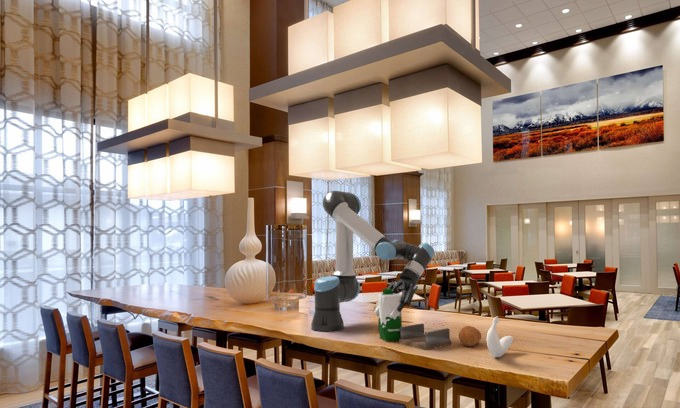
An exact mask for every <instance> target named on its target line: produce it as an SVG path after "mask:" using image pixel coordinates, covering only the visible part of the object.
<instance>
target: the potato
mask: <svg viewBox="0 0 680 408" xmlns="http://www.w3.org/2000/svg"><path fill="white" fill-rule="evenodd" d="M482 336H483V335H482V333H481V331H480V330H478V329H477V328H476V327H474V326H471V325H466V326H464V327H462V328H461V329H460V330H459V332H458V340H459V341H460V343H461V344H462V345H463V346H466V347H468V346H469V348H470V347H474V346H475V345H476V344H478V343H479V342H480V341H481V340H482Z"/></svg>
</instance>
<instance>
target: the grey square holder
mask: <svg viewBox="0 0 680 408" xmlns="http://www.w3.org/2000/svg"><path fill="white" fill-rule="evenodd" d="M400 335H401V339H399V341H398V343H399V344H400V343H401V345H404V344H405V346H409V347H413V348H416V349H420V350H425V351H426V350H427V349H428V350H431V348H433V349H436V348H435V347H437V348H441V347H440V346H442V347H445V345H446V346H450V345H452V340H451V339H450V328H447V327H446V328H442V329H437V330H431V331H427V332H426V331H425V324H424V323H417V324H412V325H405V326H402V327H400ZM428 350H427V351H428Z"/></svg>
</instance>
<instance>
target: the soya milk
mask: <svg viewBox="0 0 680 408" xmlns="http://www.w3.org/2000/svg"><path fill="white" fill-rule="evenodd" d="M401 297H402V294H400V293H399V294H398V293H397V294H395V293H392V289H387V288H382V293H378V294H377V301H378V304H379V316H378V321H379V331H378V332H379V339H381V340H382V339H383V341H384V340H385V341H384V342H386V341H388V342H395V341H396V342H397V341H398V342H399V339H401V335H400V327H403V326H402V325H403V322H402V311H401V312H400V313H399V314H398V316H397V317H396V319H393V318H392V316H391V315H390V314H391V313H392V311H393V310H394V308H395V307H396V305H397V303H398V302H400V301H399V300H401ZM400 303H401V302H400Z"/></svg>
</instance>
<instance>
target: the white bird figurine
mask: <svg viewBox="0 0 680 408" xmlns="http://www.w3.org/2000/svg"><path fill="white" fill-rule="evenodd" d="M499 322H500V320H499V316H498V315H497V316H495V317H494V318H493V319H492V324H491V326H490V328H489V329H488V331H487V334H486V345H487V350H488V352H489V354H490V355H491V356H492V357H494V358H501V357H503V356H504V355H505V353H506V352H507V351H508V350H509V348H510V347H511V345H512V343H513V339H514V337H513V336H511V335H506V336H503V337H502V338H500V337H499V334H498V332H497V326H498V323H499Z"/></svg>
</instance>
